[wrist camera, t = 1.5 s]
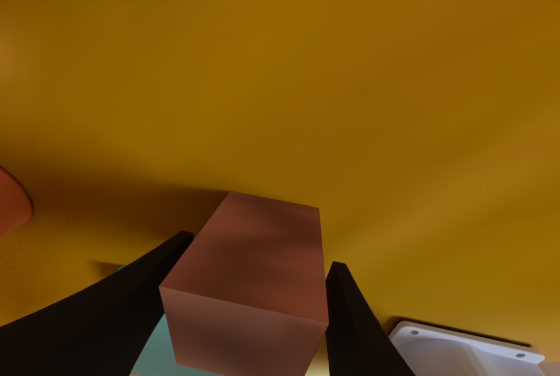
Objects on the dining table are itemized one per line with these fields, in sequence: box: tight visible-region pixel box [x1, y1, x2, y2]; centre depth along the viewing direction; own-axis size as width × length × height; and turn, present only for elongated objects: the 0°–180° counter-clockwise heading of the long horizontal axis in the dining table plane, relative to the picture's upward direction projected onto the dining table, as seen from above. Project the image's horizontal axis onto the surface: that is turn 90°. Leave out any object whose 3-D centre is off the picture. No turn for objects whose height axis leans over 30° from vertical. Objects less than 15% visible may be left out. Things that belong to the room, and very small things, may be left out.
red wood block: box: [159, 191, 329, 376], centre depth 9 cm, size 5×5×6 cm
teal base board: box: [114, 265, 225, 376], centre depth 17 cm, size 12×12×3 cm
